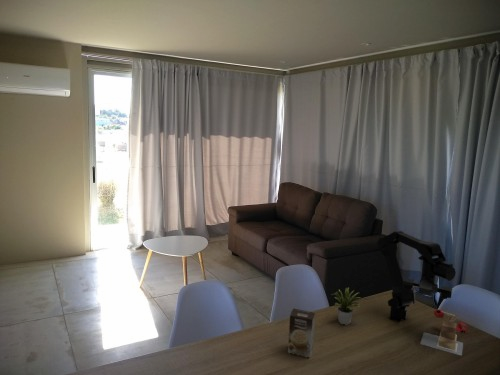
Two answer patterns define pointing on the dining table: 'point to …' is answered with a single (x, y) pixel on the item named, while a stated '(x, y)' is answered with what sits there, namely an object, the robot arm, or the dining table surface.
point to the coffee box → (301, 332)
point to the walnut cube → (448, 330)
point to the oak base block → (447, 342)
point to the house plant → (346, 306)
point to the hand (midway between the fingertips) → (425, 306)
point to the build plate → (434, 342)
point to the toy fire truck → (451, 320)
